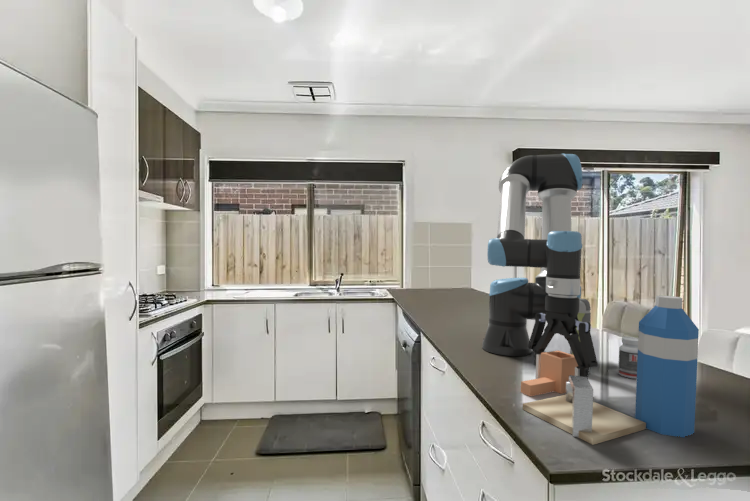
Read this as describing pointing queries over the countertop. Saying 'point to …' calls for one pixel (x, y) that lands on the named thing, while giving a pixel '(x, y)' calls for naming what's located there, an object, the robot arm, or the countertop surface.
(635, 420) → the board
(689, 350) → the water bottle
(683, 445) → the countertop surface
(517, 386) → the countertop surface
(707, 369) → the countertop surface
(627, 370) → the pill bottle
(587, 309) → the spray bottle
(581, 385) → the block
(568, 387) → the pintle
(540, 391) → the link
